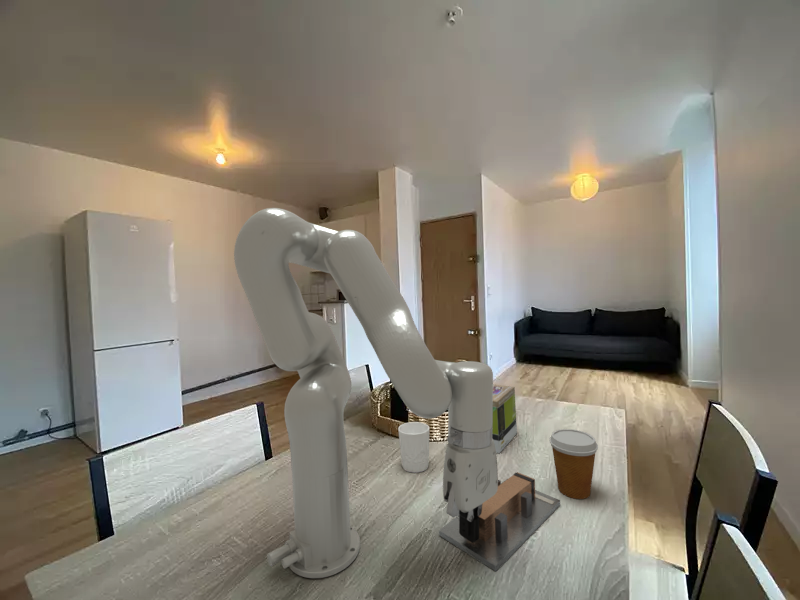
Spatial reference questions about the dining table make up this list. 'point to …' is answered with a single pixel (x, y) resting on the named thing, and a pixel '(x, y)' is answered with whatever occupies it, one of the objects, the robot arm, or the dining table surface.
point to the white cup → (414, 446)
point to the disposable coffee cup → (574, 461)
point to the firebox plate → (504, 530)
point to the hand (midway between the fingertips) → (469, 536)
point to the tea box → (503, 416)
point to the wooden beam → (504, 502)
